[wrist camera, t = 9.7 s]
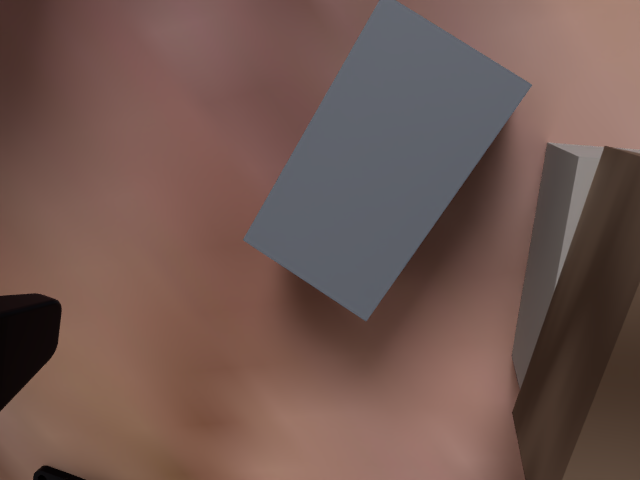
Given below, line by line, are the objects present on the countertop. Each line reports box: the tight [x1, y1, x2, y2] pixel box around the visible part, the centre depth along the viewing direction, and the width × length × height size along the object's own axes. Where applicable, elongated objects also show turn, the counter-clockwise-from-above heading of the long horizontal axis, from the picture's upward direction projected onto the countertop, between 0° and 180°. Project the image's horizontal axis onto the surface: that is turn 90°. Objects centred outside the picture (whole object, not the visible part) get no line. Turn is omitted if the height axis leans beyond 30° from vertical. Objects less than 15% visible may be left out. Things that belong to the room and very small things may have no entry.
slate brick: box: [243, 0, 532, 321], centre depth 18 cm, size 8×4×5 cm, turn 148°
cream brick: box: [512, 143, 640, 389], centre depth 17 cm, size 8×4×5 cm, turn 176°
